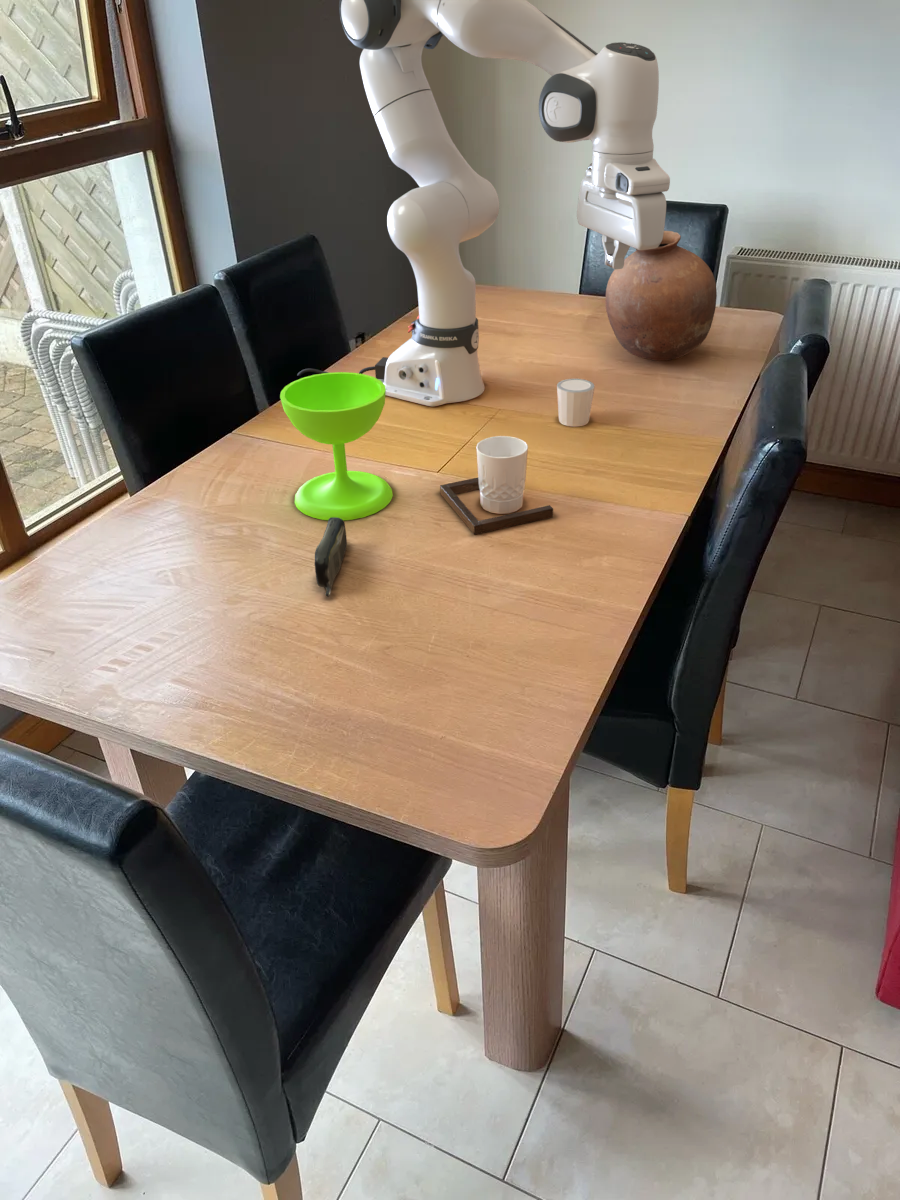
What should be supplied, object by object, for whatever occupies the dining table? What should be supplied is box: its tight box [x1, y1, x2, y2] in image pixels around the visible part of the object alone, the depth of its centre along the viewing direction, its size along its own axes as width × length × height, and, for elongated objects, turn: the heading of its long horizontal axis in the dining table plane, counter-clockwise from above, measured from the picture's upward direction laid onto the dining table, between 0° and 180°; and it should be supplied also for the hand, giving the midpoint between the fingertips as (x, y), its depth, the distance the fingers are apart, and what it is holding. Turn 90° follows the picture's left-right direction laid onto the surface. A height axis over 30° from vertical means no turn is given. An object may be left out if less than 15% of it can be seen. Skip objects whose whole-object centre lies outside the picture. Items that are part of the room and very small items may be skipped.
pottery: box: [604, 230, 718, 361], centre depth 193 cm, size 23×23×25 cm
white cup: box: [476, 435, 529, 515], centre depth 143 cm, size 8×8×10 cm
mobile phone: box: [314, 517, 348, 598], centre depth 130 cm, size 5×3×15 cm
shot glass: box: [556, 378, 595, 428], centre depth 170 cm, size 7×7×7 cm
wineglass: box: [279, 371, 394, 521], centre depth 144 cm, size 16×16×18 cm
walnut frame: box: [439, 477, 554, 536], centre depth 145 cm, size 13×14×2 cm
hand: (614, 267), depth 144 cm, fingers closed
